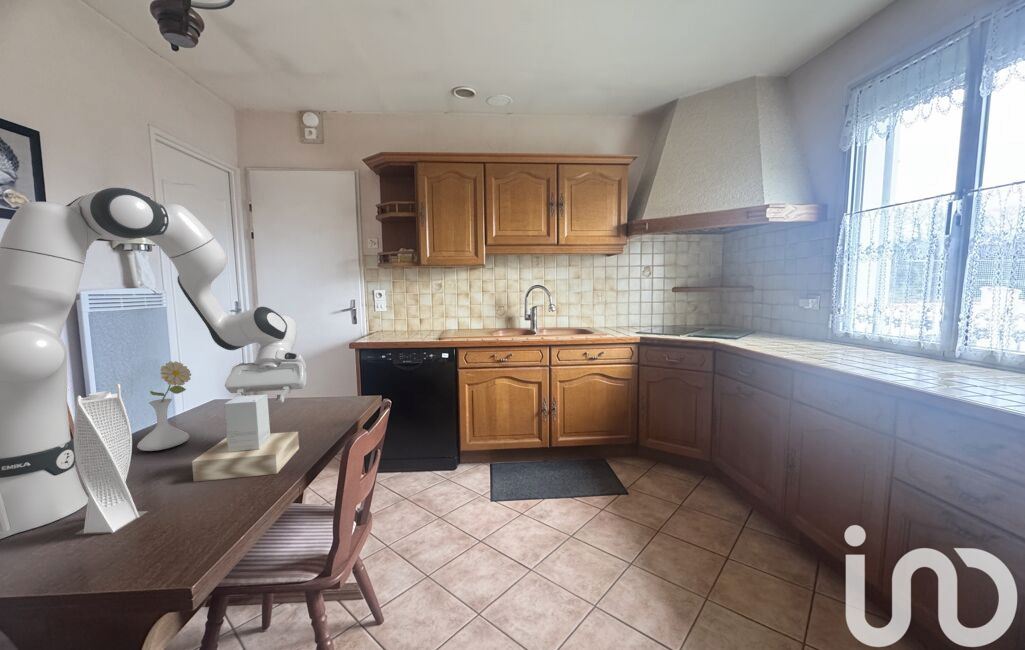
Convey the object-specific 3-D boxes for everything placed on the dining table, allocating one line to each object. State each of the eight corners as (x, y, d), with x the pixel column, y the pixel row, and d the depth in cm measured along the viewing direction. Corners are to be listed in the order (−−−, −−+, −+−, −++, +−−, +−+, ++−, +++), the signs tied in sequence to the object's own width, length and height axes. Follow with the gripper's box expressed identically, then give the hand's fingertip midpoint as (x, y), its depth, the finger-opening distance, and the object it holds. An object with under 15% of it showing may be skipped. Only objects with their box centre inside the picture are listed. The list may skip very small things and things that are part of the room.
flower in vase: (145, 458, 104) (137, 368, 102) (131, 449, 110) (123, 364, 108) (203, 442, 115) (196, 360, 113) (187, 435, 121) (181, 357, 119)
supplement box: (271, 439, 104) (268, 393, 103) (259, 449, 97) (256, 401, 96) (241, 441, 103) (238, 395, 102) (226, 452, 95) (223, 403, 94)
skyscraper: (155, 512, 78) (142, 379, 76) (115, 538, 70) (101, 389, 68) (112, 514, 78) (98, 380, 76) (68, 539, 70) (51, 390, 68)
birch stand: (193, 481, 91) (192, 461, 90) (228, 454, 106) (227, 436, 106) (276, 473, 94) (275, 454, 94) (299, 448, 110) (298, 431, 110)
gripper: (229, 357, 110) (213, 400, 102) (306, 354, 114) (296, 394, 106) (238, 369, 115) (223, 411, 106) (311, 366, 119) (303, 405, 110)
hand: (260, 403), depth 106 cm, fingers open, 8 cm apart
